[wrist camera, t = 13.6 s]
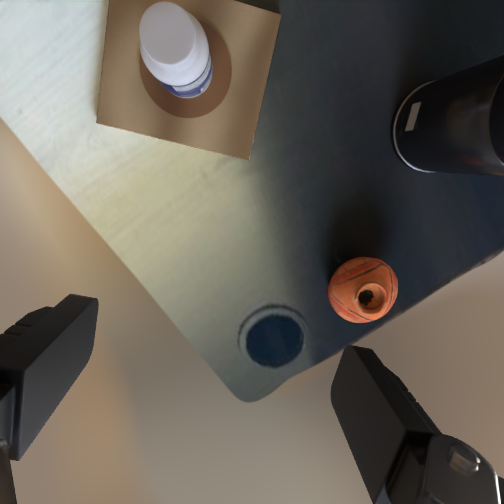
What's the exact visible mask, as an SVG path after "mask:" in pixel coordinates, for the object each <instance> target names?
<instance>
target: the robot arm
mask: <svg viewBox="0 0 504 504" xmlns="http://www.w3.org/2000/svg"><path fill="white" fill-rule="evenodd" d="M391 141H392V145H393V148H394V151H395V153H396V155H397V156H398V158H399V159H400V160H401V162H402V163H404V164H405V165H406V166H407V167H409V168H411V169H413V170H416V171H420V172H445V173H460V174H475V175H491V176H504V55H502V56H500V57H497V58H494V59H492V60H489V61H486V62H484V63H481V64H478V65H476V66H473V67H471V68H468V69H465V70H463V71H460V72H457V73H455V74H452V75H449V76H447V77H444V78H441V79H439V80H435V81H431V82H428V83H425V84H423V85H421V86H419V87H417V88H415V89H414V90H412V91H411V92H410V93H409V94H408V95H407V96H406V97H405V98H404V99H403V100H402V102H401V103H400V105H399V106H398V108H397V110H396V112H395V115H394V117H393V121H392V126H391ZM97 314H98V299H97V298H92V297H87V296H81V295H76V294H69V295H68V296H67V297H66V298H64V299H63V300H62V301H61V302H60V303H58V304H57V305H56V306H55V307H54V308H53V307H47V306H46V307H44V308H41V309H38V310H36V311H33V312H30V313H28V314H27V315H25V316H24V317H23V318H22V319H20V320H19V321H18V322H16V323H15V325H12V326H11V327H10V328H8V329H7V330H6V331H5V332H4V334H0V504H17V501H16V495H15V488H14V482H13V476H12V470H11V464H10V460H16V461H19V460H20V459H21V458H22V456H23V455H24V453H25V452H26V450H27V449H28V447H29V446H30V445H31V443H32V442H33V440H34V439H35V438H36V436H37V435H38V433H39V432H40V430H41V429H42V427H43V426H44V425H45V423H46V422H47V420H48V419H49V418H50V416H51V415H52V413H53V412H54V410H55V409H56V407H57V406H58V405H59V403H60V402H61V400H62V399H63V397H64V396H65V395H66V393H67V392H68V390H69V389H70V387H71V386H72V384H73V383H74V382H75V380H76V379H77V377H78V376H79V375H80V373H81V372H82V370H83V369H84V367H85V366H86V364H87V363H88V361H89V358H90V356H91V353H92V349H93V345H94V338H95V330H96V321H97ZM331 402H332V406H333V408H334V410H335V413H336V415H337V417H338V420H339V423H340V425H341V427H342V430H343V432H344V435H345V437H346V439H347V442H348V444H349V447H350V449H351V452H352V454H353V456H354V459H355V461H356V464H357V466H358V469H359V471H360V473H361V476H362V478H363V481H364V483H365V485H366V488H367V490H368V493H369V495H370V498H371V500H372V502H373V504H504V479H503V478H501V477H498V476H497V475H496V473H495V471H494V469H493V467H492V466H491V465H490V463H489V462H488V461H487V460H486V459H485V458H484V457H483V456H482V455H481V454H480V453H479V452H477V451H476V450H475V449H474V448H472V447H471V446H469V445H468V444H466V443H464V442H463V441H461V440H459V439H457V438H454V437H452V436H448V435H444V434H442V433H441V432H440V430H439V429H438V428H437V427H436V425H435V424H434V423H433V421H432V420H431V419H430V417H429V416H428V415H427V414H426V412H425V411H424V410H423V408H422V407H421V406H420V404H419V403H418V402H416V399H415V398H414V397H413V395H412V394H411V393H410V392H408V389H407V387H406V386H405V385H404V384H403V382H402V381H401V380H400V378H399V377H398V376H396V375H395V374H394V373H393V372H391V371H390V370H389V369H388V368H387V367H385V366H384V365H383V363H382V362H381V361H380V359H379V358H378V357H377V355H376V354H375V353H374V351H373V350H372V349H369V348H364V347H358V346H353V345H348V346H346V348H345V349H344V351H343V354H342V357H341V360H340V363H339V365H338V368H337V371H336V374H335V377H334V380H333V383H332V386H331Z"/></svg>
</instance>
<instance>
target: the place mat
mask: <svg viewBox="0 0 504 504" xmlns="http://www.w3.org/2000/svg"><path fill="white" fill-rule="evenodd" d="M163 1H167V2H172V3H175V4H177V5H179V6H181V7H182V8H183V9H184V10H185V11H187V12H189V13H190V14H192V15H193V16H194V17H195V18H196V19H197V20H198V21H199V23H200V24H201V26H202V28H203V29H204V31H205V34H206V36H207V40H208V44H209V50H210V55H211V60H212V65H213V74H212V79H211V82H210V84H209V86H208V87H207V89H206V90H205V91H204V92H203V93H201V94H200V95H198V96H196V97H193V98H181V97H178V96H176V95H174V94H172V93H171V92H169V91H168V90H167V89H166V88H165V87H164V86H163V85H162V84H161V83H160V82H159V81H158V80H157V79H156V78H155V77H154V76H153V74H152V73H151V72H150V71H149V69H148V68H147V66H146V65H145V63H144V61H143V59H142V56H141V52H140V45H139V39H140V37H139V24H140V20H141V17H142V15H143V14H144V12H145V11H146V10H147V9H148V8H149V7H150V6H151V5H153V4H155V3H157V2H163ZM280 19H281V14H277V13H274V12H271V11H268V10H264V9H261V8H258V7H254V6H251V5H248V4H245V3H241V2H238V1H235V0H109V7H108V16H107V26H106V35H105V45H104V54H103V64H102V74H101V83H100V93H99V102H98V112H97V121H96V123H98V124H102V125H106V126H110V127H114V128H118V129H122V130H127V131H131V132H135V133H139V134H143V135H147V136H151V137H155V138H159V139H163V140H167V141H171V142H175V143H180V144H184V145H188V146H192V147H196V148H200V149H204V150H208V151H212V152H216V153H220V154H224V155H228V156H233V157H237V158H241V159H245V160H249V157H250V153H251V149H252V144H253V140H254V135H255V131H256V126H257V122H258V117H259V113H260V108H261V104H262V100H263V95H264V91H265V86H266V82H267V77H268V73H269V68H270V64H271V60H272V55H273V51H274V46H275V42H276V37H277V33H278V28H279V24H280Z"/></svg>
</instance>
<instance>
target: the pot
mask: <svg viewBox="0 0 504 504" xmlns="http://www.w3.org/2000/svg"><path fill="white" fill-rule="evenodd" d="M397 291H398V282H397V277H396V275H395V273H394V272H393V270H392V269H391V268H390V267H389V266H388V265H387V264H386V263H385V262H383V261H382V260H379V259H376V258H371V257H358V258H354V259H351V260H349V261H347V262H345V263H344V264H343V265H341V266H340V267H339V268H338V269H337V271H336V272H335V273H334V275H333V276H332V278H331V281H330V283H329V288H328V295H329V300H330V303H331V305H332V307H333V308H334V310H335V311H336V312H337V314H338V315H340V316H341V317H342V318H344V319H346V320H348V321H351V322H355V323H365V322H370V321H374V320H376V319H379V318H380V317H382V316H384V315H385V314H386V313H387V312H388V311H389V310H390V308H391V307H392V305H393V303H394V301H395V299H396V296H397Z"/></svg>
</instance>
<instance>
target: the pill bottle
mask: <svg viewBox="0 0 504 504" xmlns="http://www.w3.org/2000/svg"><path fill="white" fill-rule="evenodd" d="M139 37H140V39H139V45H140V52H141V56H142V59H143V61H144V63H145V65H146V66H147V68H148V69H149V71H150V72H151V73H152V74H153V76H154V77H155V78H156V79H157V80H158V81H159V82H160V83H161V84H162V85H163V86H164V87H165V88H166V89H167V90H168V91H169V92H171V93H172V94H174V95H176V96H178V97H181V98H193V97H196V96H198V95H200V94H201V93H203V92H204V91H205V90H206V89H207V87H208V86H209V84H210V82H211V79H212V74H213V65H212V60H211V55H210V50H209V44H208V40H207V36H206V34H205V31H204V29H203V28H202V26H201V24H200V23H199V21H198V20H197V19H196V18H195V17H194V16H193V15H192V14H190V13H189V12H187V11H185V10H184V9H183V8H182V7H181V6H179V5H177V4H175V3H172V2H167V1H163V2H157V3H155V4H153V5H151V6H150V7H149V8H148V9H147V10H146V11H145V12H144V14H143V15H142V17H141V20H140V24H139Z"/></svg>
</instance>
